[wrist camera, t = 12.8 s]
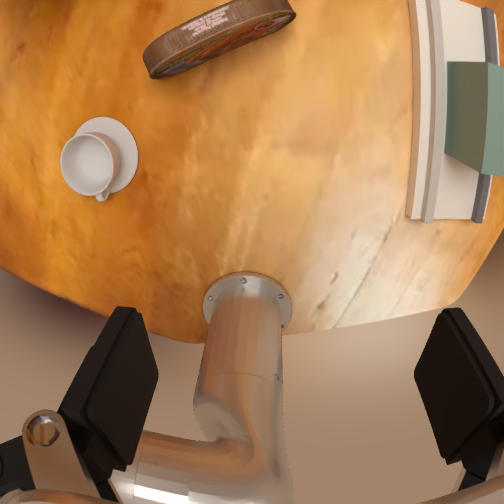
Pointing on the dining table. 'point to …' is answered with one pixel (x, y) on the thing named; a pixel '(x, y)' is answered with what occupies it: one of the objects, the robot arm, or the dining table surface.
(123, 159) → the teacup
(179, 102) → the dining table surface
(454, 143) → the tea box
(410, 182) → the white railed tray
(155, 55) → the tin
